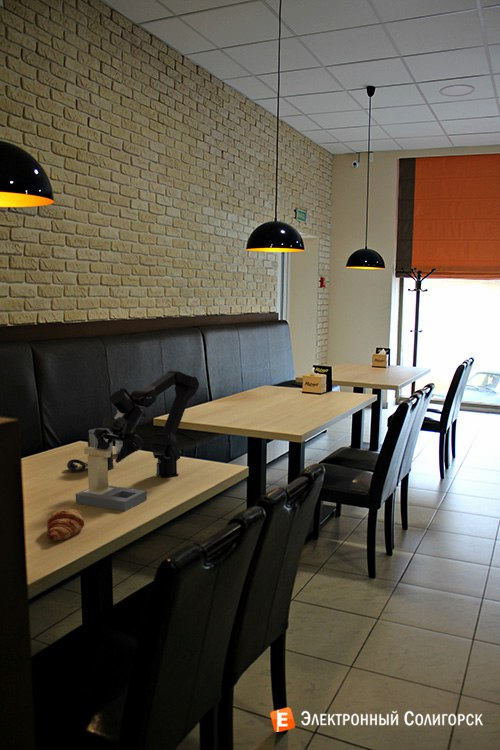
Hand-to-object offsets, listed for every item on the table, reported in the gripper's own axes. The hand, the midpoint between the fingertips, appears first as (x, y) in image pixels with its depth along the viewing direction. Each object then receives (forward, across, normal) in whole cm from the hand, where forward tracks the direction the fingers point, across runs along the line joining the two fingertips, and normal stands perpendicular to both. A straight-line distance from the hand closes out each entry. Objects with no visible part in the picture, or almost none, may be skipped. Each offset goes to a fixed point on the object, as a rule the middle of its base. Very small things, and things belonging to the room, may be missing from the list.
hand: (106, 460), depth 212 cm
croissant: (+29, +13, -11) cm, 34 cm away
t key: (+9, 0, +4) cm, 10 cm away
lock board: (+11, +5, +6) cm, 14 cm away
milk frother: (-5, -30, +24) cm, 38 cm away
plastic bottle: (-22, -36, +40) cm, 58 cm away
